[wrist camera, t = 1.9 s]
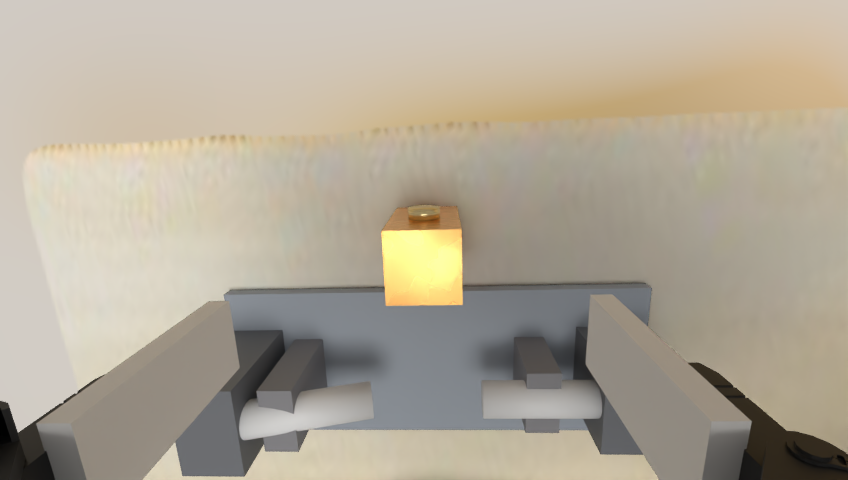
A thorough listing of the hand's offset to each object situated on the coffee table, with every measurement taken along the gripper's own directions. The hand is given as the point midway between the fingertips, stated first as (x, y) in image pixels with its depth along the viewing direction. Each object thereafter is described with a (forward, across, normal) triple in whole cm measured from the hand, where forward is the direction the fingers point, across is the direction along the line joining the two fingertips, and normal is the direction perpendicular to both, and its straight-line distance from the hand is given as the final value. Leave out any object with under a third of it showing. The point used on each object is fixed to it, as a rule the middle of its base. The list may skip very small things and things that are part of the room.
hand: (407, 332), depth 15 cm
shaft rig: (+16, 0, +10) cm, 19 cm away
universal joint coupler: (+16, 0, 0) cm, 16 cm away
